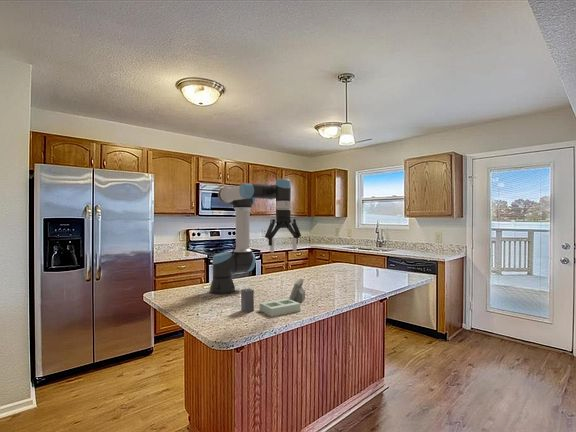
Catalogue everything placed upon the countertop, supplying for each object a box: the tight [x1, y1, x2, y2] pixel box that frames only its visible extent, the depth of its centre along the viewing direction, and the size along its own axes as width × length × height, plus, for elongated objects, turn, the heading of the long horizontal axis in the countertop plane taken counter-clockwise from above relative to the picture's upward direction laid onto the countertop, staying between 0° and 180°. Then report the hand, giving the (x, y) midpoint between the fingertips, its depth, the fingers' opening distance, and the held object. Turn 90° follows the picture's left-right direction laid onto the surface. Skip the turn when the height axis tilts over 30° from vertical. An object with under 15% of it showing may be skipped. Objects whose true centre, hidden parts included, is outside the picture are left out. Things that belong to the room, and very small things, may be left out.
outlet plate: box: [259, 298, 301, 317], centre depth 157 cm, size 12×16×4 cm
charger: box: [240, 287, 255, 313], centre depth 157 cm, size 4×4×11 cm
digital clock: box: [288, 278, 306, 303], centre depth 177 cm, size 16×9×11 cm, turn 156°
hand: (283, 251), depth 164 cm, fingers open, 13 cm apart
